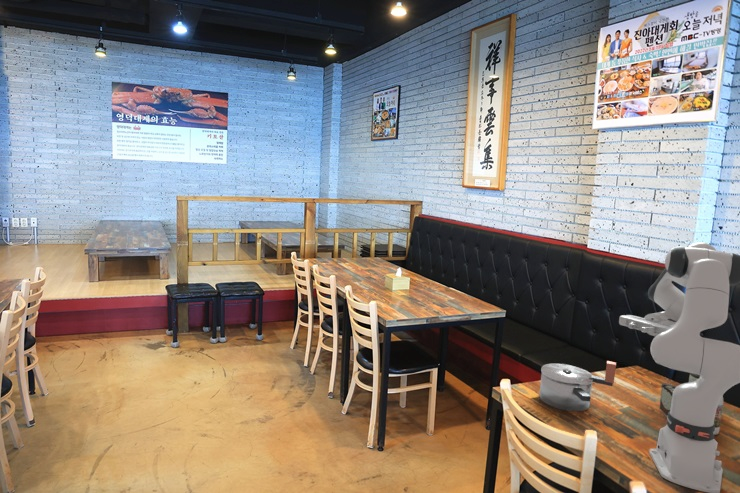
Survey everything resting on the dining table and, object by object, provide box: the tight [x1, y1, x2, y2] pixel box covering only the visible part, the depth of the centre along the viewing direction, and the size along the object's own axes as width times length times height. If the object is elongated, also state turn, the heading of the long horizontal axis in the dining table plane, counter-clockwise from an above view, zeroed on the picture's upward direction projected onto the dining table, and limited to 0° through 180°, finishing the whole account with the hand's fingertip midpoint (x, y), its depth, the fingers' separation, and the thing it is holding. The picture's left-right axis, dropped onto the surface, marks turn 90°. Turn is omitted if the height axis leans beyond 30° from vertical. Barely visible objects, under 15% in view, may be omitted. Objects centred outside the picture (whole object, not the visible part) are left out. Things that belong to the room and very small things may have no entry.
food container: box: [659, 382, 678, 418], centre depth 180 cm, size 12×6×10 cm, turn 168°
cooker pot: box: [538, 373, 593, 412], centre depth 184 cm, size 27×18×10 cm
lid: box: [540, 360, 617, 387], centre depth 184 cm, size 25×19×8 cm
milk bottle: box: [714, 394, 724, 436], centre depth 169 cm, size 8×8×20 cm
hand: (636, 328), depth 185 cm, fingers open, 3 cm apart
